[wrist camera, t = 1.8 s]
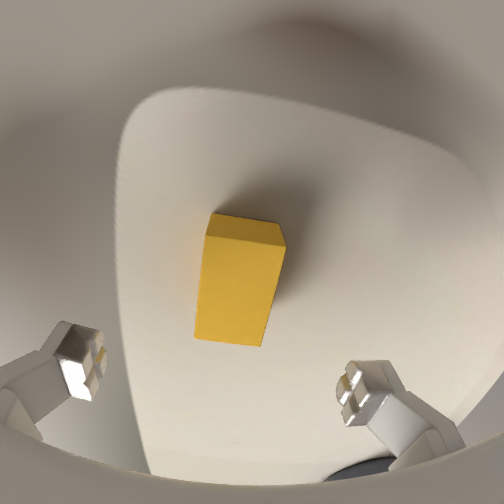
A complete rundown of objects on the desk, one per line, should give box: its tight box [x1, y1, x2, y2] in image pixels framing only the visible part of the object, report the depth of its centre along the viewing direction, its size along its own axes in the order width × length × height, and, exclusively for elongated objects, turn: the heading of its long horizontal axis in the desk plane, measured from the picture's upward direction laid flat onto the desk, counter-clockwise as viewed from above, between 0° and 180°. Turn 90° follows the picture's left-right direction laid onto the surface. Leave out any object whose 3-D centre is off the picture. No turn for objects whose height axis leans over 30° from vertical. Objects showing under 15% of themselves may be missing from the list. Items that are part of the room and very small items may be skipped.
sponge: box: [194, 213, 287, 347], centre depth 13 cm, size 5×3×2 cm, turn 170°
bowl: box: [324, 458, 395, 482], centre depth 25 cm, size 11×11×6 cm
